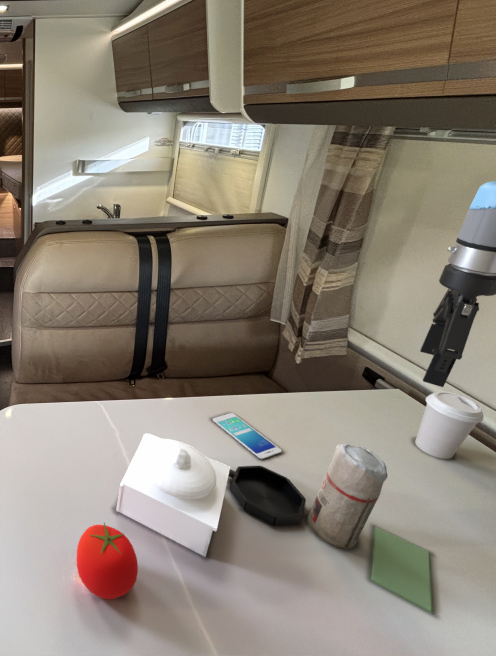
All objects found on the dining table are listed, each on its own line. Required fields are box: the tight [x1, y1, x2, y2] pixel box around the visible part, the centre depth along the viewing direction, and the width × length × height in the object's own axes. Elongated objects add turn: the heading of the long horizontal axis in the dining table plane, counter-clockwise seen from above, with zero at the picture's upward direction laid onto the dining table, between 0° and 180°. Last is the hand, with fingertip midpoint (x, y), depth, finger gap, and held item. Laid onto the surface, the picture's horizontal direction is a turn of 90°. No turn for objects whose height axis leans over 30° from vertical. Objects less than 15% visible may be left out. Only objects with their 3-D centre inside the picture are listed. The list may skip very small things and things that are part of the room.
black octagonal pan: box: [228, 465, 307, 527], centre depth 95 cm, size 22×13×3 cm, turn 47°
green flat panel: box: [370, 526, 434, 615], centre depth 79 cm, size 8×14×1 cm, turn 137°
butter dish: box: [115, 432, 231, 558], centre depth 89 cm, size 18×18×16 cm
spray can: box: [307, 443, 389, 550], centre depth 83 cm, size 8×8×20 cm
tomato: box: [76, 522, 139, 600], centre depth 76 cm, size 10×11×11 cm
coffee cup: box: [414, 390, 484, 460], centre depth 103 cm, size 10×10×15 cm
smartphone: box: [212, 412, 283, 461], centre depth 110 cm, size 8×1×15 cm
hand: (430, 367), depth 85 cm, fingers open, 13 cm apart
